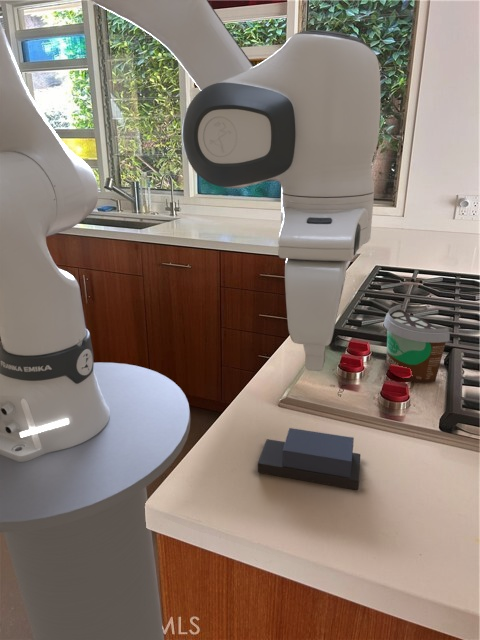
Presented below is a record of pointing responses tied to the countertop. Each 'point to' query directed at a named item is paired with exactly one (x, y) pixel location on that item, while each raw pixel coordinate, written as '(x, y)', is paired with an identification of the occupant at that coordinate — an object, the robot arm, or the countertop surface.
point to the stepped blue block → (312, 458)
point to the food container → (414, 344)
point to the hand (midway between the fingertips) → (320, 347)
